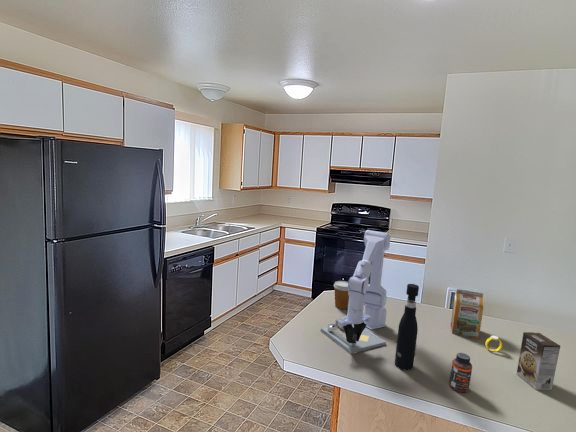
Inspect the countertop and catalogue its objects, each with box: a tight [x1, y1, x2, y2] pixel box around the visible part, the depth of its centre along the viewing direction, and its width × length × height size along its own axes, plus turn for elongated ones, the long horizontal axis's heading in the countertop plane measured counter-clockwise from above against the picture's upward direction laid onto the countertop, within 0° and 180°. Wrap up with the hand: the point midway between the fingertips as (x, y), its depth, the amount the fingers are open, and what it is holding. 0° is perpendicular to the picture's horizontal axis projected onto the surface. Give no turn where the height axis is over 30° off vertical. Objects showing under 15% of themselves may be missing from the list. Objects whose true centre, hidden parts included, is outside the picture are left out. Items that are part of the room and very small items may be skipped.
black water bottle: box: [394, 283, 420, 371], centre depth 124 cm, size 6×6×30 cm
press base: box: [320, 318, 387, 355], centre depth 145 cm, size 18×20×4 cm
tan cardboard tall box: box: [450, 288, 484, 340], centre depth 156 cm, size 11×11×19 cm
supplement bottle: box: [448, 352, 473, 393], centre depth 114 cm, size 6×6×11 cm
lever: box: [327, 323, 357, 347], centre depth 141 cm, size 16×4×5 cm, turn 29°
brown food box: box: [516, 331, 561, 391], centre depth 120 cm, size 9×6×16 cm
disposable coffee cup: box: [333, 280, 349, 310], centre depth 176 cm, size 10×10×12 cm
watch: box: [484, 335, 503, 353], centre depth 141 cm, size 6×3×6 cm, turn 86°
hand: (352, 341), depth 136 cm, fingers open, 3 cm apart
